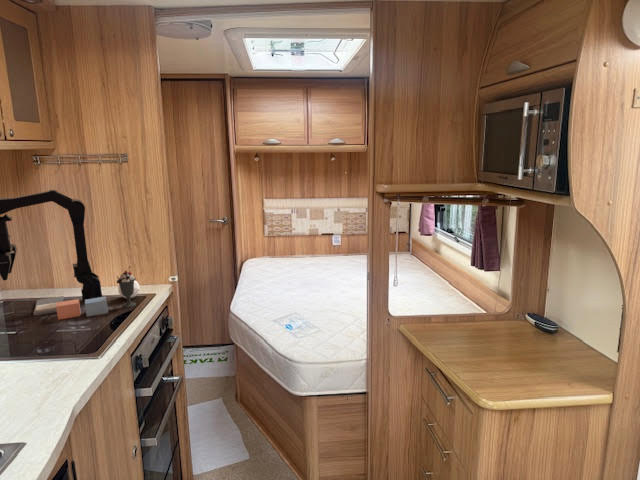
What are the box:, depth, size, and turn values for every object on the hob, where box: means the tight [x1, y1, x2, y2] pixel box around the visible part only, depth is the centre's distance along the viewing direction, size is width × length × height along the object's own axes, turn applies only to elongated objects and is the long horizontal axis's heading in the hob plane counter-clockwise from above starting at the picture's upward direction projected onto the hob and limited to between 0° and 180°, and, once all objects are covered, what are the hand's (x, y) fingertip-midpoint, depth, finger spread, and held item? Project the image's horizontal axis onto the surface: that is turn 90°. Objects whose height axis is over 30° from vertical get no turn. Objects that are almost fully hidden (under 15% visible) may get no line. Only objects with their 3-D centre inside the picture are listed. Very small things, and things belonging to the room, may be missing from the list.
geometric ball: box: [117, 280, 140, 299], centre depth 176 cm, size 8×8×8 cm
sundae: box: [116, 265, 137, 309], centre depth 167 cm, size 7×7×15 cm
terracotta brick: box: [56, 298, 82, 320], centre depth 160 cm, size 7×5×5 cm, turn 117°
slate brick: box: [84, 296, 109, 317], centre depth 162 cm, size 7×5×5 cm, turn 117°
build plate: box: [33, 295, 65, 317], centre depth 169 cm, size 9×16×1 cm, turn 27°
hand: (7, 276), depth 160 cm, fingers open, 9 cm apart
